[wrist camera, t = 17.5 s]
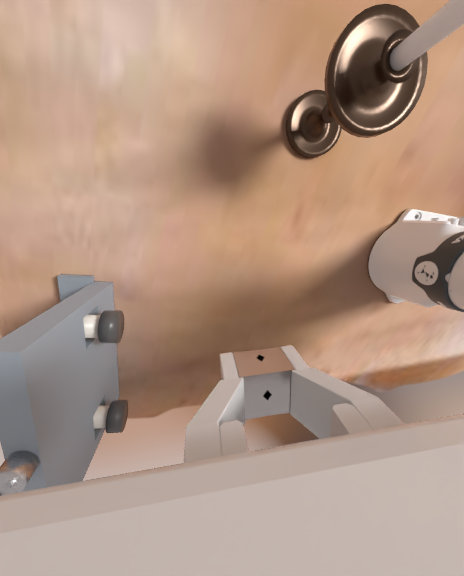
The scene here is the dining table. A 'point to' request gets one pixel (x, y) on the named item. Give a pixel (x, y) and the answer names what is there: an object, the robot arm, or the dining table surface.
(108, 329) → the knob
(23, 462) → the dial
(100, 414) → the knob
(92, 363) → the mount
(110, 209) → the dining table surface
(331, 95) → the candlestick
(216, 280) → the dining table surface
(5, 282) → the dining table surface
